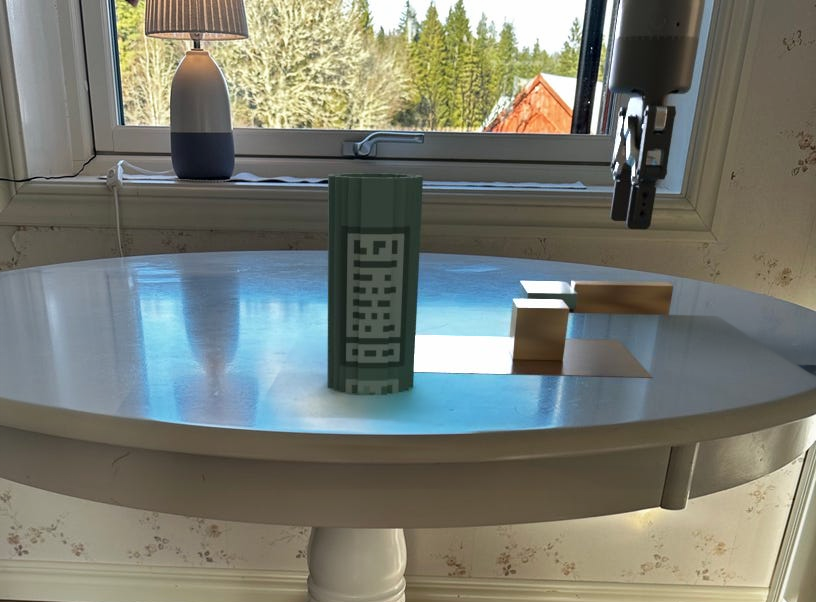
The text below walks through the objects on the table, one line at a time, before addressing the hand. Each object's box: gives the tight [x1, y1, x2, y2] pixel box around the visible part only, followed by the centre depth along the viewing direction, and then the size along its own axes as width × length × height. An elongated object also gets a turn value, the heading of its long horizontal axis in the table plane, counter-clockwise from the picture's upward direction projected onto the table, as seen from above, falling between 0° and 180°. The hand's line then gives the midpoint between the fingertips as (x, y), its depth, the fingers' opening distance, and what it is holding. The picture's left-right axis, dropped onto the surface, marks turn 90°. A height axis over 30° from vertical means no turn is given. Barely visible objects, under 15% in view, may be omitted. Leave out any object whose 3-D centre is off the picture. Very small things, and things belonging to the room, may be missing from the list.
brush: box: [518, 280, 675, 316], centre depth 100 cm, size 15×8×4 cm, turn 86°
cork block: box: [508, 298, 570, 361], centre depth 77 cm, size 4×4×4 cm
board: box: [414, 334, 654, 379], centre depth 78 cm, size 20×14×2 cm
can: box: [326, 172, 424, 396], centre depth 66 cm, size 6×6×15 cm
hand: (628, 224), depth 96 cm, fingers open, 8 cm apart
